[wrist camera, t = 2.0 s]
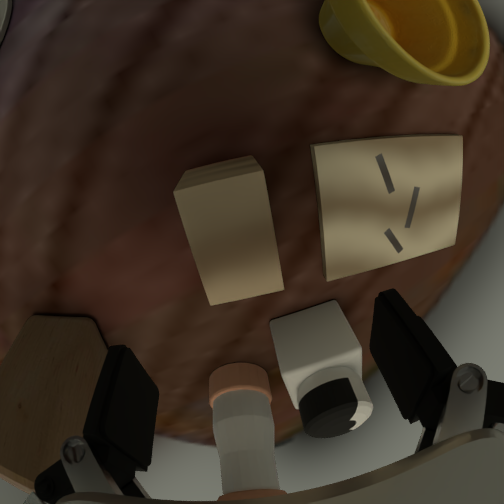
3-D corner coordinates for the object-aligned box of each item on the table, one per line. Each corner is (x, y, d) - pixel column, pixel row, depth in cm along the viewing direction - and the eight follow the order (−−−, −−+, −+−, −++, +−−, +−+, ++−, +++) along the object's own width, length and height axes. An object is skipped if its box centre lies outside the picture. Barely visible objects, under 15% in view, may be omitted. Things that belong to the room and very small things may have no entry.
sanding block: (185, 170, 20) (173, 191, 15) (251, 154, 20) (263, 170, 15) (211, 260, 24) (210, 305, 18) (269, 248, 24) (284, 289, 18)
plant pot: (390, 109, 19) (477, 122, 10) (276, 52, 16) (321, 8, 7) (418, 22, 14) (495, 7, 6) (316, -38, 12) (368, -94, 3)
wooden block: (95, 313, 25) (35, 494, 7) (123, 373, 30) (99, 520, 12) (29, 311, 24) (-39, 449, 6) (61, 367, 29) (24, 491, 11)
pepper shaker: (233, 400, 34) (247, 531, 17) (196, 377, 31) (199, 529, 14) (278, 380, 33) (310, 520, 16) (244, 353, 29) (269, 524, 13)
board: (310, 144, 20) (314, 146, 19) (455, 134, 20) (462, 135, 19) (323, 275, 25) (326, 281, 25) (449, 240, 26) (454, 244, 25)
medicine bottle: (283, 360, 31) (305, 451, 20) (267, 319, 27) (292, 426, 17) (341, 341, 30) (378, 426, 20) (335, 297, 27) (386, 393, 16)
